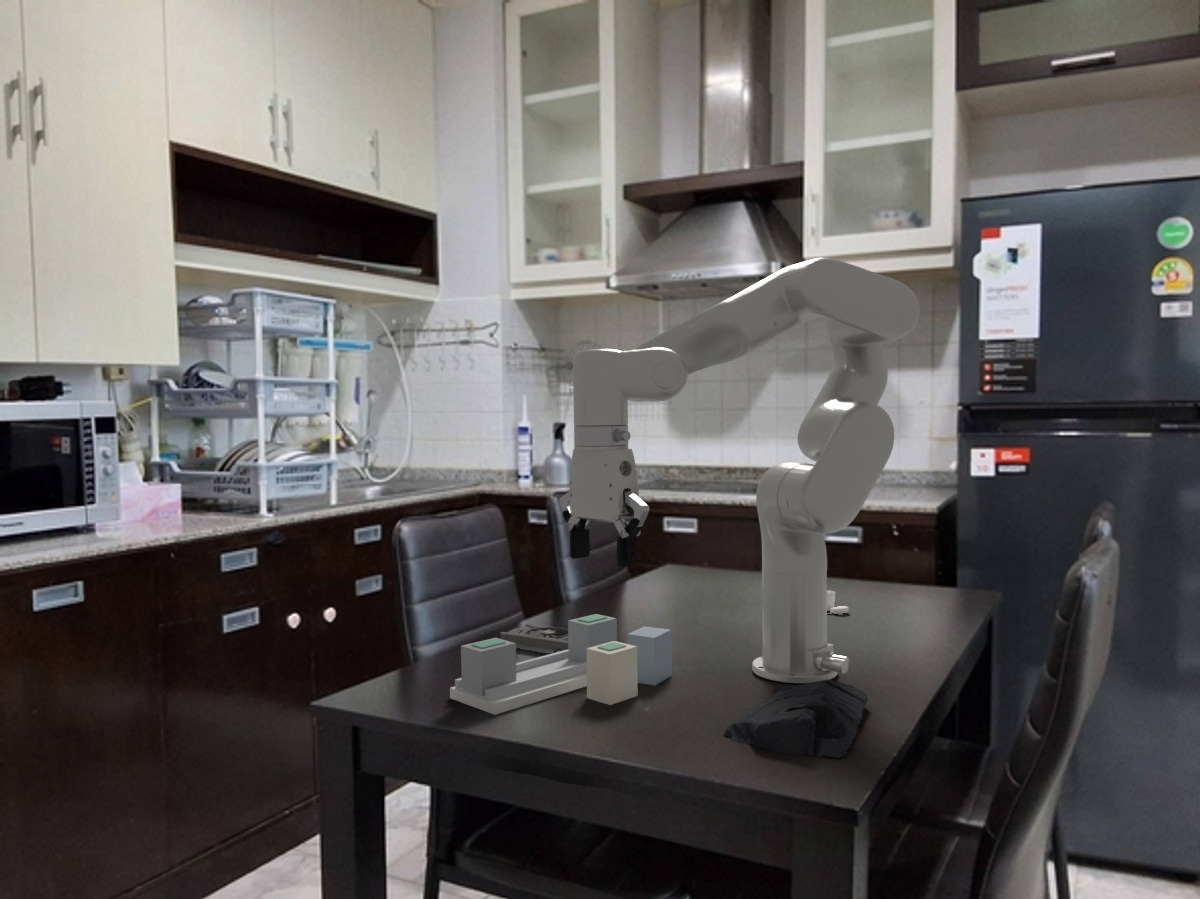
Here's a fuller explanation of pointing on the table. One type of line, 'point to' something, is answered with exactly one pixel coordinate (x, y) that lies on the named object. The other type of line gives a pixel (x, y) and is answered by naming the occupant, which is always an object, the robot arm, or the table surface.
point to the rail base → (528, 684)
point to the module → (652, 654)
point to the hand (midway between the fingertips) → (603, 561)
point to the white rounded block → (831, 604)
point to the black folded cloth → (804, 720)
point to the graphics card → (538, 638)
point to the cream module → (612, 672)
